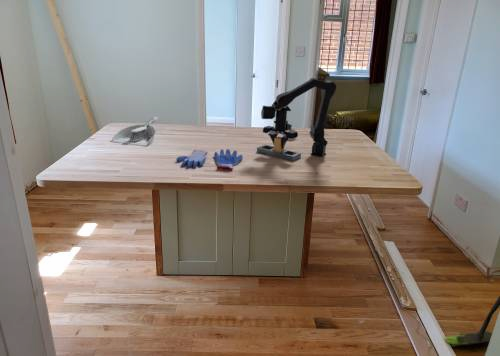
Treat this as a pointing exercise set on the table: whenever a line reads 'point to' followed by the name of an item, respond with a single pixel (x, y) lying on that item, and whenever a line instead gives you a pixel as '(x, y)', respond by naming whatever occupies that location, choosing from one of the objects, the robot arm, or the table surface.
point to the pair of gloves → (223, 160)
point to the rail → (284, 155)
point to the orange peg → (278, 144)
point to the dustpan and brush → (137, 133)
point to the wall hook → (291, 130)
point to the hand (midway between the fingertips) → (278, 147)
